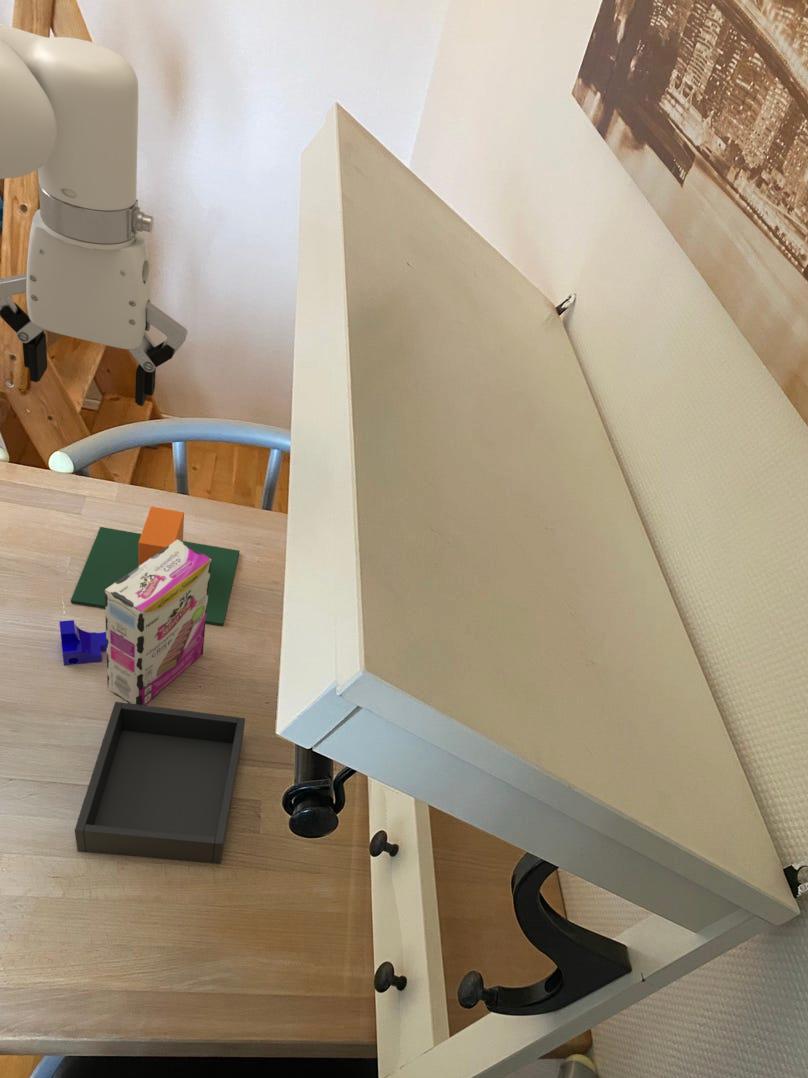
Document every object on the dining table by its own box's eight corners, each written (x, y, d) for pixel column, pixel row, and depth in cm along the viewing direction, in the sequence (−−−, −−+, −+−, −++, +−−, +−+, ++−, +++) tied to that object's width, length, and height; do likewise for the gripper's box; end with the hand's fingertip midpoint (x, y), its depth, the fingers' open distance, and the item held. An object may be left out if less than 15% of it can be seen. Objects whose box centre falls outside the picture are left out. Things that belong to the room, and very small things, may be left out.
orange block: (138, 589, 107) (138, 542, 101) (150, 553, 112) (150, 506, 106) (172, 594, 108) (173, 548, 102) (182, 558, 112) (184, 511, 107)
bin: (77, 853, 83) (74, 830, 80) (116, 725, 93) (115, 701, 90) (220, 865, 86) (223, 844, 83) (242, 741, 97) (245, 717, 94)
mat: (70, 603, 103) (70, 600, 103) (100, 529, 113) (100, 526, 112) (223, 626, 107) (223, 623, 107) (239, 553, 117) (239, 550, 116)
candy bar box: (142, 713, 95) (141, 613, 84) (106, 691, 96) (100, 589, 85) (206, 656, 103) (213, 557, 92) (173, 636, 104) (176, 535, 93)
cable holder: (64, 667, 97) (61, 644, 94) (61, 644, 99) (59, 621, 96) (139, 660, 100) (138, 637, 97) (135, 638, 102) (134, 615, 99)
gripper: (200, 225, 78) (188, 388, 89) (-7, 167, 73) (8, 346, 85) (185, 259, 72) (174, 427, 84) (-39, 198, 68) (-18, 385, 80)
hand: (91, 386), depth 84 cm, fingers open, 9 cm apart
